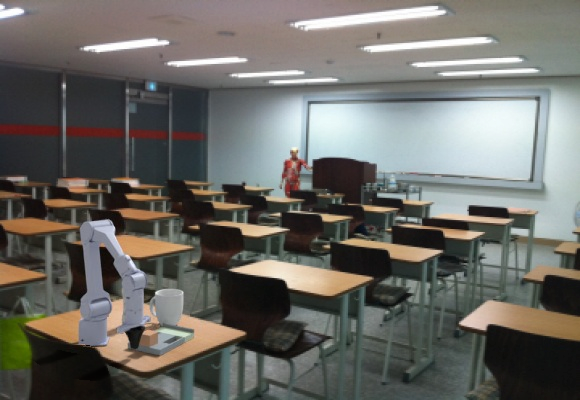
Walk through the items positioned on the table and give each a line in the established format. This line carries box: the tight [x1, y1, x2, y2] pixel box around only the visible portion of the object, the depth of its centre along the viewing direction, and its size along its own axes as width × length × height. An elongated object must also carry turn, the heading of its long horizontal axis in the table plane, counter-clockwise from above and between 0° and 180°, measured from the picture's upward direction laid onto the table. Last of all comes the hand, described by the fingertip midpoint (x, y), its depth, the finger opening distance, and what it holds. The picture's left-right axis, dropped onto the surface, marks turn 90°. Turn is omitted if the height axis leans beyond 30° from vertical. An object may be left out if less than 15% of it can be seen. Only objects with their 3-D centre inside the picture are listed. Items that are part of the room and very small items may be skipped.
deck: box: [127, 323, 195, 356], centre depth 193 cm, size 20×14×3 cm
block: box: [139, 329, 158, 347], centre depth 186 cm, size 4×4×4 cm
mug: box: [149, 288, 184, 327], centre depth 214 cm, size 15×11×13 cm
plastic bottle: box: [121, 287, 126, 325], centre depth 210 cm, size 6×7×20 cm
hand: (134, 348), depth 180 cm, fingers closed
